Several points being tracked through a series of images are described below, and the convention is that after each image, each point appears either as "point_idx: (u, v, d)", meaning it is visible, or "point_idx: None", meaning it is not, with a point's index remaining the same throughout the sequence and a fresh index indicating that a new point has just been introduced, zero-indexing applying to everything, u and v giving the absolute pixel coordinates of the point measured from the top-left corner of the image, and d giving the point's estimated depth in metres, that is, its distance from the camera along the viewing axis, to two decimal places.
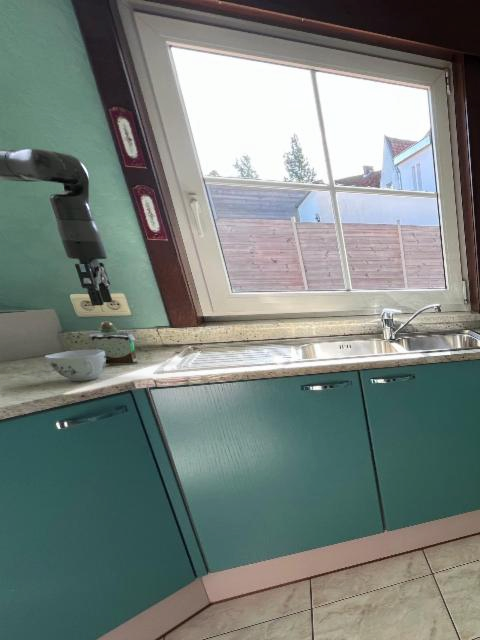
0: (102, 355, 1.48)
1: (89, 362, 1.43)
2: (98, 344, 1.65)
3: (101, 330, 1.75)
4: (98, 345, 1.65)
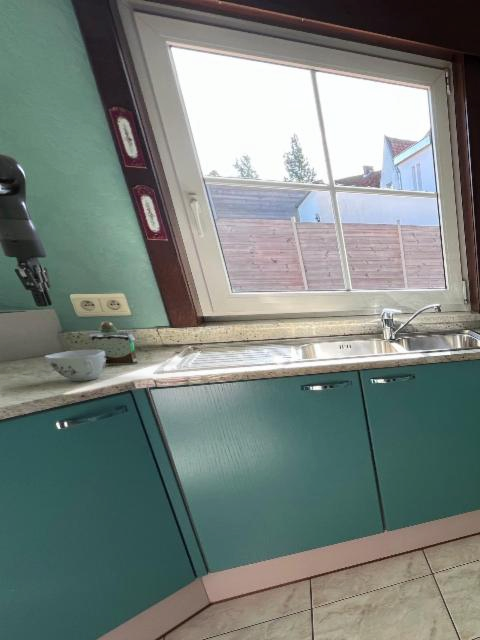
0: (102, 355, 1.48)
1: (89, 362, 1.43)
2: (98, 344, 1.65)
3: (101, 330, 1.75)
4: (98, 345, 1.65)
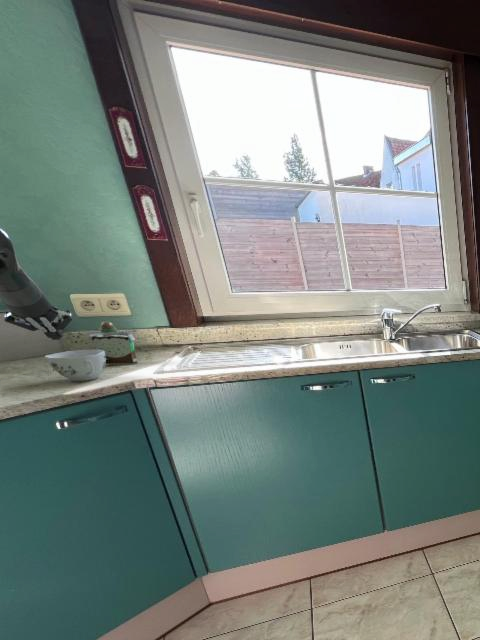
0: (102, 355, 1.48)
1: (89, 362, 1.43)
2: (98, 344, 1.65)
3: (101, 330, 1.75)
4: (98, 345, 1.65)
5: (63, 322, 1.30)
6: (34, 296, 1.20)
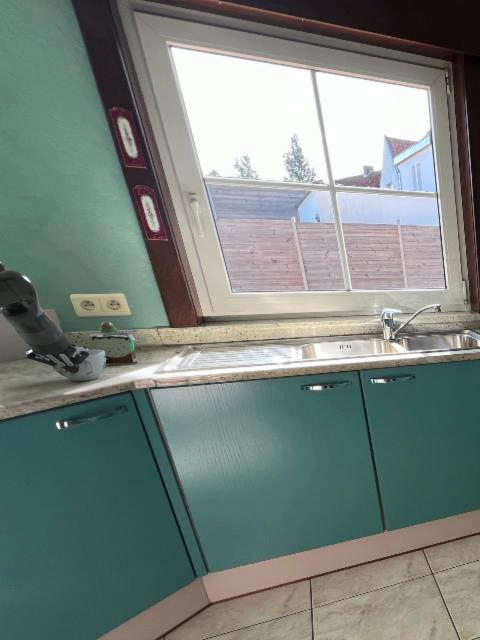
0: (102, 355, 1.48)
1: (89, 362, 1.43)
2: (98, 344, 1.65)
3: (101, 330, 1.75)
4: (98, 345, 1.65)
5: (81, 357, 1.37)
6: (54, 336, 1.27)
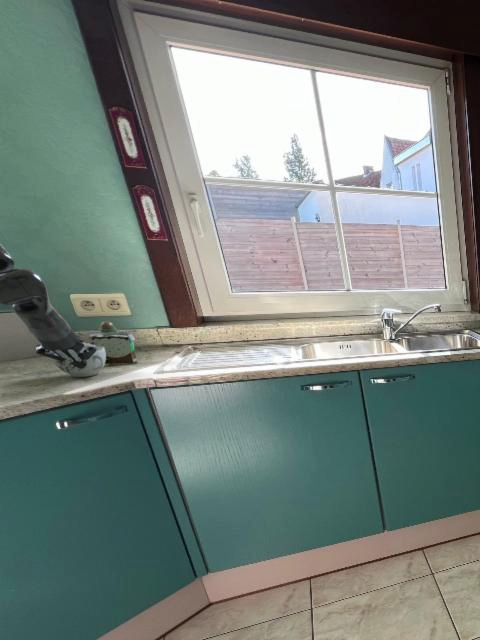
0: (104, 351, 1.53)
1: (100, 357, 1.49)
2: (98, 344, 1.65)
3: (101, 330, 1.75)
4: (98, 345, 1.65)
5: (88, 353, 1.42)
6: (64, 332, 1.32)
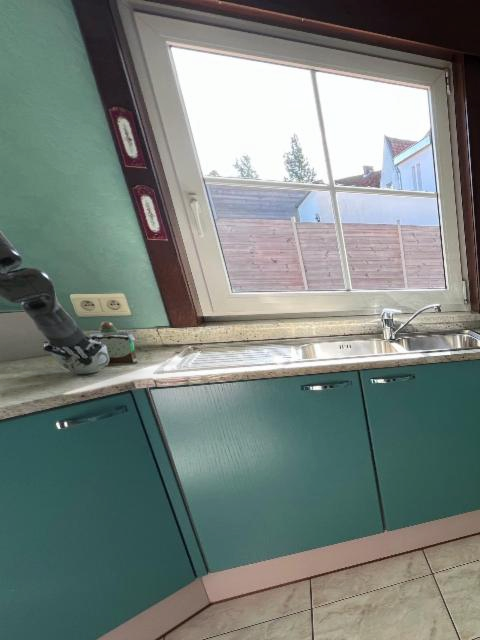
0: (106, 348, 1.58)
1: (105, 353, 1.53)
2: None
3: (101, 330, 1.75)
4: None
5: (94, 350, 1.46)
6: (70, 329, 1.36)
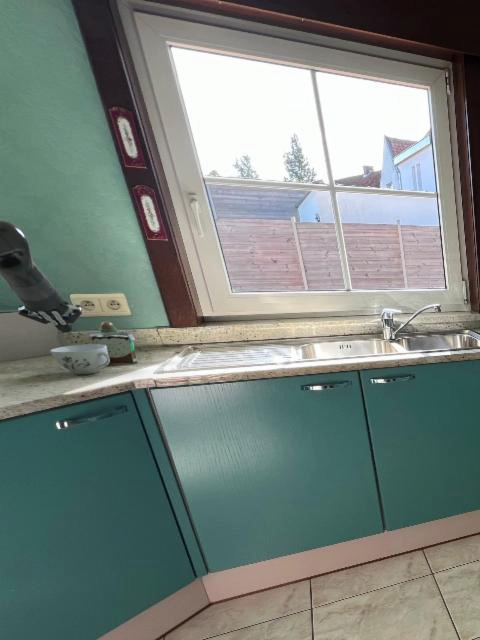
0: (106, 348, 1.58)
1: (106, 354, 1.53)
2: None
3: (101, 330, 1.75)
4: None
5: (73, 316, 1.37)
6: (47, 291, 1.28)
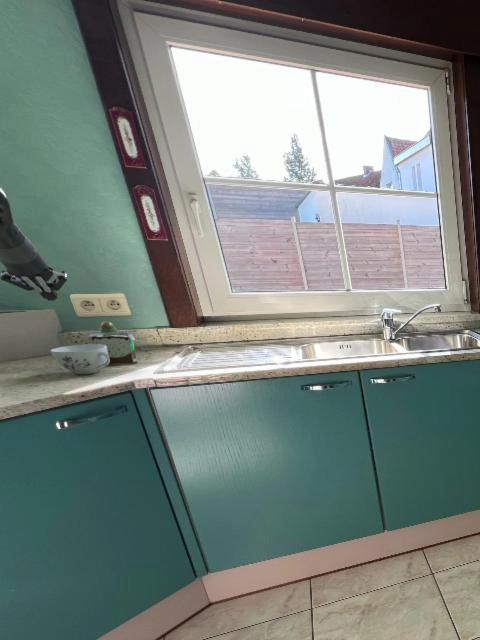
0: (106, 348, 1.58)
1: (106, 354, 1.53)
2: None
3: (101, 330, 1.75)
4: None
5: (58, 282, 1.33)
6: (29, 254, 1.23)
